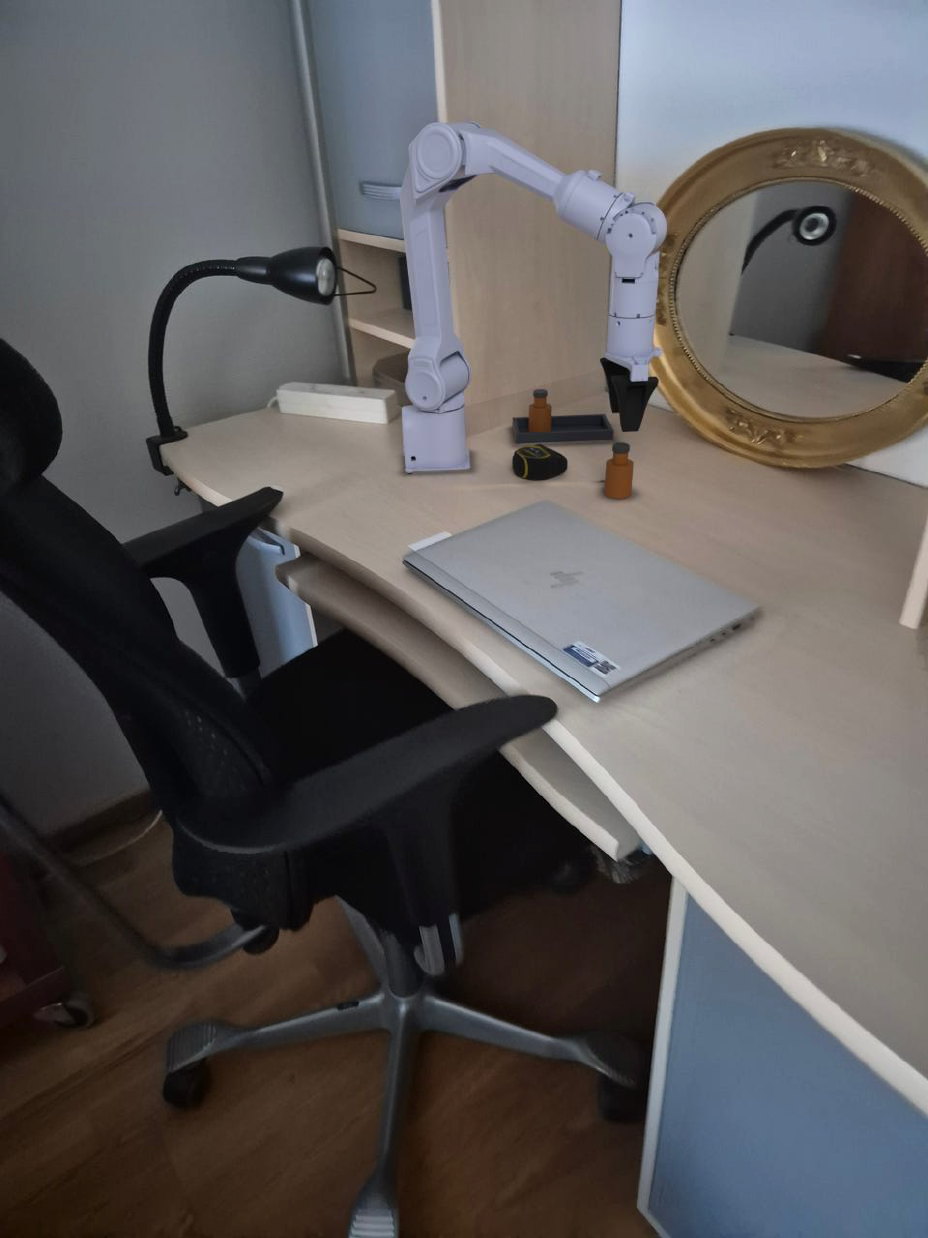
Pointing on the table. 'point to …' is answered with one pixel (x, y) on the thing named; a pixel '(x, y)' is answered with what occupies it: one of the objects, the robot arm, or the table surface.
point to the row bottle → (540, 412)
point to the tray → (565, 429)
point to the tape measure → (538, 462)
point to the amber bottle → (619, 472)
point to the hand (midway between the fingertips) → (624, 421)
